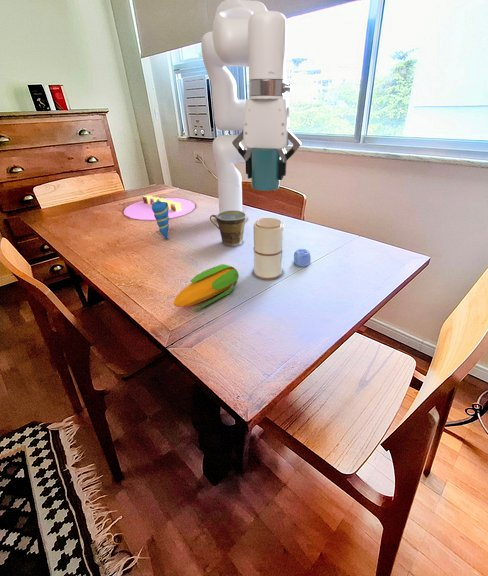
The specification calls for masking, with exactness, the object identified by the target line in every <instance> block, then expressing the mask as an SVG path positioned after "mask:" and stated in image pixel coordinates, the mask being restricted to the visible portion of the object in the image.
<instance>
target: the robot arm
mask: <svg viewBox="0 0 488 576" xmlns="http://www.w3.org/2000/svg"><path fill="white" fill-rule="evenodd" d="M287 32H288V21H287V17H286V15H284V13H282V12H281V11H278V10H277V11H276V10H268V9H267V6H266V5H265V3H263V2H262V1H259V0H223V1H222V2H220V3H219V4H218V6H217V8H216V10H215V14H214V19H213V24H212V31H207V32H206V33H205V34H203V35H202V37H201V42H200V43H201V44H200V47H201V48H200V49H201V55H202V60H203V64H204V68H205V71H206V74H207V76H208V79H209V82H210V87H211V98H212V99H211V100H212V110H213V111H212V112H213V120H214V124H215V125H214V126H215V128H216V129H218V130H220V131H224V132H225V131H226V132H227V131H228V132H230V131H231V132H232V131H234V132H236V131H241V132H240V133H239V134H223V135H218V136H217V137H215V138H214V139H213V140H212V145H211V148H212V154H213V159H214V164H215V171H216V172H215V173H216V182H217V183H216V184H217V194H218V208H219V213H220V212H223V211H231V210H234V211H241V212H243V181H242V178H243V177H242V174H241V172H240V169H238V168H237V167H236V166H235V164H243V163H244V164H245V175H247V179H250V180H251V149H252V148H254V149H265V150H267V149H278V150H279V151H278V154H279V156H280V158H281V159H280V162H279V180H280V181H282V180H283V179H284V177H286V175H287V163H288V162H287V161H288V160H289V159H290V158H291V157H292V156H293V155H294V154H295V153H296V152H297V151H298V150H299V148H300V147H301V146H302V142H301V140H299V139H298V138H297V137H296V135H295V134H294V133H292V132H291V131H290V106H289V105H290V104H289V98H285V96H286V94H287V93H288V92H289V93H292V84H291V83H287V82H286V60H287V59H286V57H287V36H288V35H287ZM228 67H240V68H241V67H243V68H244V67H245V68H248V98H245V99H243V98H242V99H239V97H238V90H237V89H238V87H237V81H236V79H235V77H234V76H233V74H232V72H231V71H230V70H229V68H228ZM290 143H291V144H292V146H291V148H290V149H288V151H287V150H286V147H288V146H289V144H290ZM215 220H216V221H217V219H216V218H215ZM246 221H247V219H246V220H245V222H246Z"/></svg>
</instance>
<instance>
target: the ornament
mask: <svg viewBox="0 0 488 576" xmlns="http://www.w3.org/2000/svg"><path fill="white" fill-rule="evenodd" d="M159 198H160V197H159ZM159 198H158V199H157V202H154V203H153V204H152V210H153V212H154V217H155V218H156V220H155V221H156V224H157V226H158V228H159V232H160V234H161V236H162V237H163V239H164V240H168V235H169V230H170V228H169V227H170V225H169V221H170V218H169V217H168V209H167V207H166V204H165V203H164V202H161V201H159Z"/></svg>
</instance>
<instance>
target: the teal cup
mask: <svg viewBox="0 0 488 576" xmlns="http://www.w3.org/2000/svg"><path fill="white" fill-rule="evenodd" d="M278 151H279V150H278V149H267V150H265V149H254V148H252V149H251V178H250V181H251V183H250V185H251V189H253V190H256V191H262V192H270V191H277V190H279V189H280V185H281V180H279V162H280V159H281V158H280V156H279V154H278Z"/></svg>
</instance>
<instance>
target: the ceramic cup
mask: <svg viewBox="0 0 488 576" xmlns="http://www.w3.org/2000/svg"><path fill="white" fill-rule="evenodd" d="M212 218H215V220H216V219H217V220H216V223H215V221H213V220H212ZM209 220H210V222H211V224H213V225H214V226H215V227H216V228H217V229H218V230H219V233H220V237H221V241H222V244H223V245H224V246H227V247H237V246H240V245H242V244H243V241H244V240H243V239H244V232H245V226H246V221H247V214H246V213H245V212H241V211H234V210H231V211H223V212H220V211H219V212H218V213H216V214H211V215H210V217H209ZM245 220H246V221H245Z"/></svg>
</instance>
